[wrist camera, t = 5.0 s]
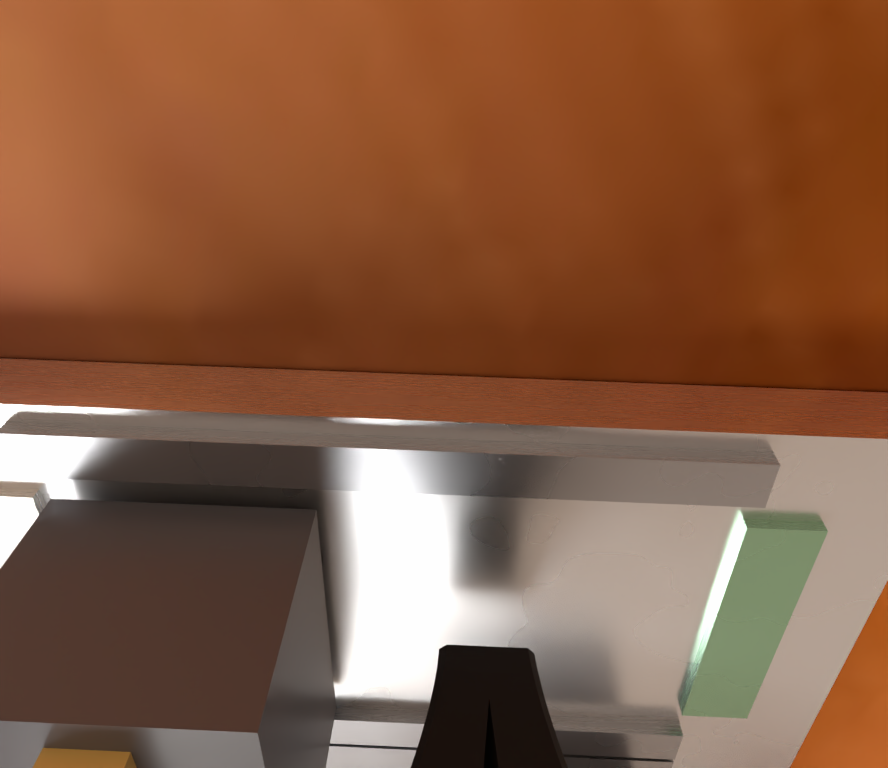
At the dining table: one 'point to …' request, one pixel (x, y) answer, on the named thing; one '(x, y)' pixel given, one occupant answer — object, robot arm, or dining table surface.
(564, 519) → the breaker panel
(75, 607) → the block
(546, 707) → the robot arm
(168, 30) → the dining table surface
